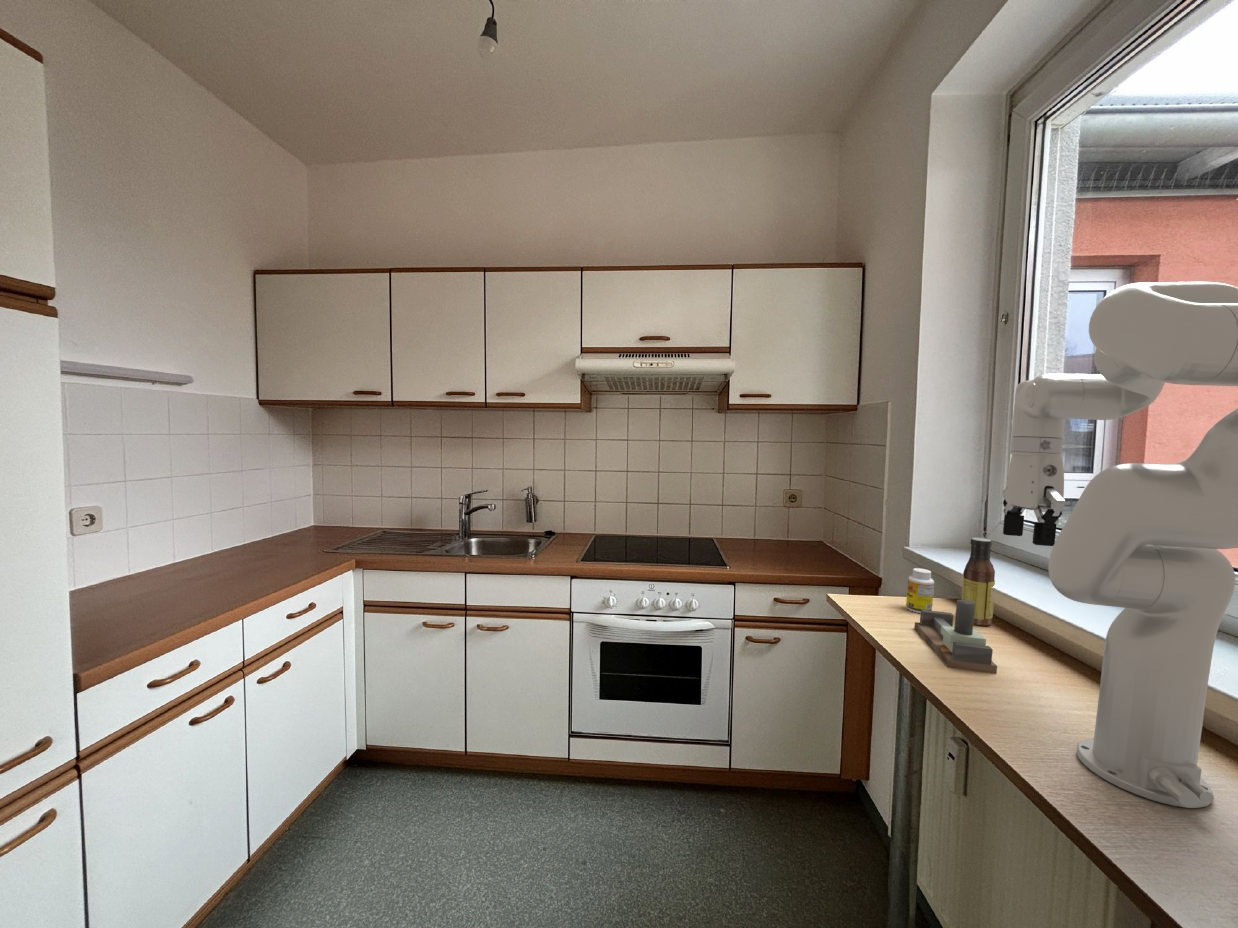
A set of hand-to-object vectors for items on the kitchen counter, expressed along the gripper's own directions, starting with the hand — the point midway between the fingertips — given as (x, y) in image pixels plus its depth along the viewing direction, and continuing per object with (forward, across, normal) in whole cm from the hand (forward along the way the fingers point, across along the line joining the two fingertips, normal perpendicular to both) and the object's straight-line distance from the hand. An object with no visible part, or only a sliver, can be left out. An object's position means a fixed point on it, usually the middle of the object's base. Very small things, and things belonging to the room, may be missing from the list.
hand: (1027, 539), depth 98 cm
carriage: (+23, +3, +8) cm, 24 cm away
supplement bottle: (+24, +31, +6) cm, 40 cm away
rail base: (+25, +7, +8) cm, 27 cm away
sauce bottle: (+24, +27, -5) cm, 37 cm away
